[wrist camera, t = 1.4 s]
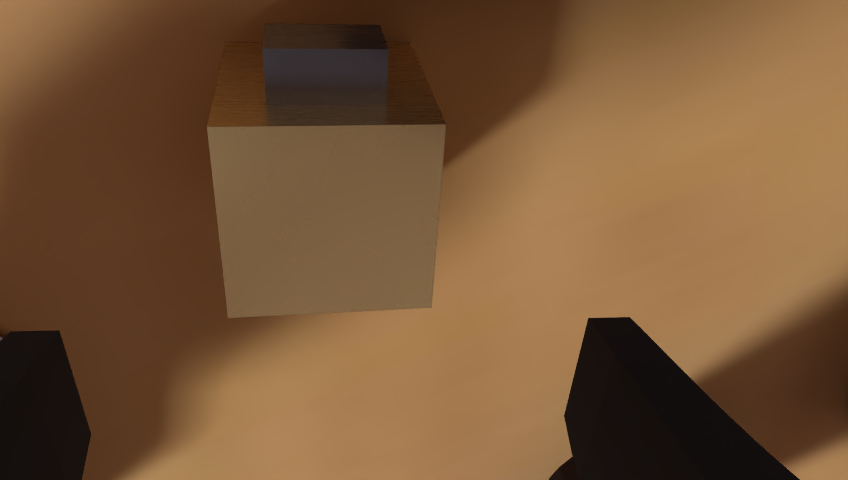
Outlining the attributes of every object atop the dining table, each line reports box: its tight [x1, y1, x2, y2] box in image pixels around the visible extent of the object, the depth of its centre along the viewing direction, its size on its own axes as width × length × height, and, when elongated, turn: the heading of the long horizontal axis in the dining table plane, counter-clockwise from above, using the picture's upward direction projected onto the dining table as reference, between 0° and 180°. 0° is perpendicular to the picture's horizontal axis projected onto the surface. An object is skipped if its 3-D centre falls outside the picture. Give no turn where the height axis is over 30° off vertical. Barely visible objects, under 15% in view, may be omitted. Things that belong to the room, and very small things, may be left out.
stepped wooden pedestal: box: [207, 24, 446, 318], centre depth 17 cm, size 6×4×5 cm
